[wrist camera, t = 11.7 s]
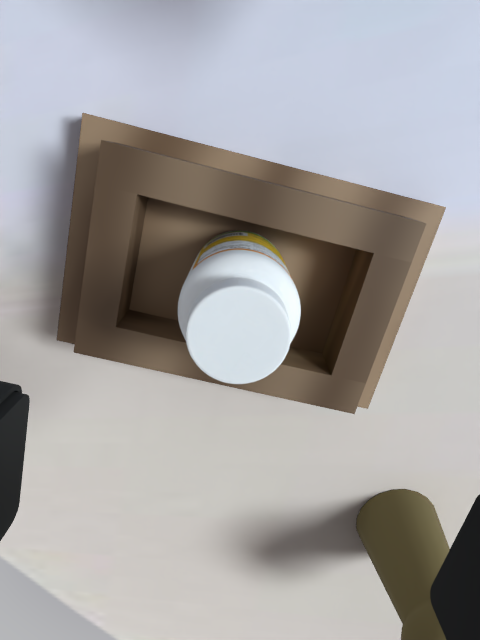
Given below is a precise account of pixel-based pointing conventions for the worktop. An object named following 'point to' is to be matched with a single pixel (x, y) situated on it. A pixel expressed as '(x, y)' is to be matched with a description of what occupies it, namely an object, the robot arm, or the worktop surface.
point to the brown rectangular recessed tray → (232, 215)
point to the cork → (406, 556)
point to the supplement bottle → (238, 308)
